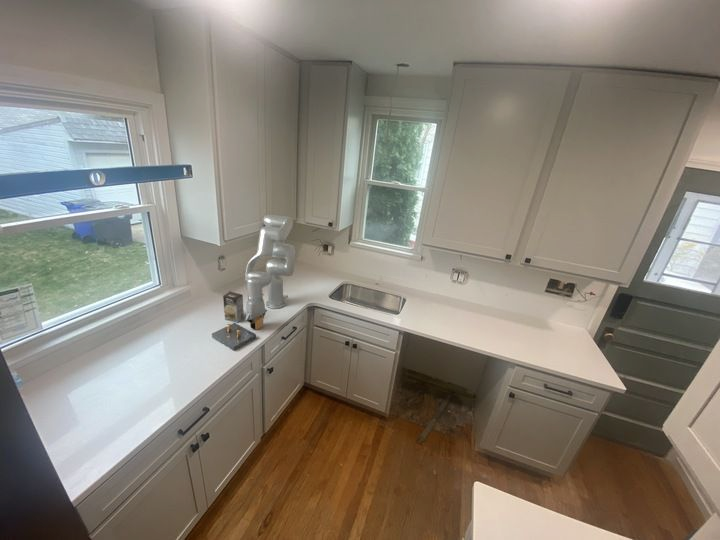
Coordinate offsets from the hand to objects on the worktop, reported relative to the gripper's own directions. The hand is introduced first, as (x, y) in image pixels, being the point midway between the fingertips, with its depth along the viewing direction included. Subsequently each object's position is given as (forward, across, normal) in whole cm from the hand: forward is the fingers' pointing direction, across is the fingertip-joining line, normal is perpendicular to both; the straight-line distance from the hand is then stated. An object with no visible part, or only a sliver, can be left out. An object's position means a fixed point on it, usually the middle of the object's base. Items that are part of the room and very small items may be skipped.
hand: (256, 325), depth 168 cm
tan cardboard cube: (0, 0, 0) cm, 0 cm away
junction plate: (+1, +14, -1) cm, 15 cm away
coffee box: (+1, +2, -17) cm, 17 cm away
